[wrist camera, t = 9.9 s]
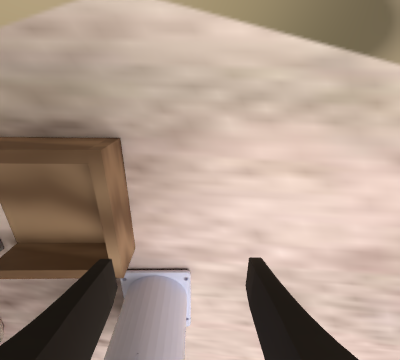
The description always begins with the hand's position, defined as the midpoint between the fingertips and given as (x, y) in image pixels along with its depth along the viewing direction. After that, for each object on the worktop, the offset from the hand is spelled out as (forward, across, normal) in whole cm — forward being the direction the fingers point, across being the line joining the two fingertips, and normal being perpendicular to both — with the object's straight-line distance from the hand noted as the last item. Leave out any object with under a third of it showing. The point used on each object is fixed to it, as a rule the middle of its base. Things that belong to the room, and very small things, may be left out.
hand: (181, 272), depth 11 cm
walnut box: (+10, +12, +1) cm, 15 cm away
